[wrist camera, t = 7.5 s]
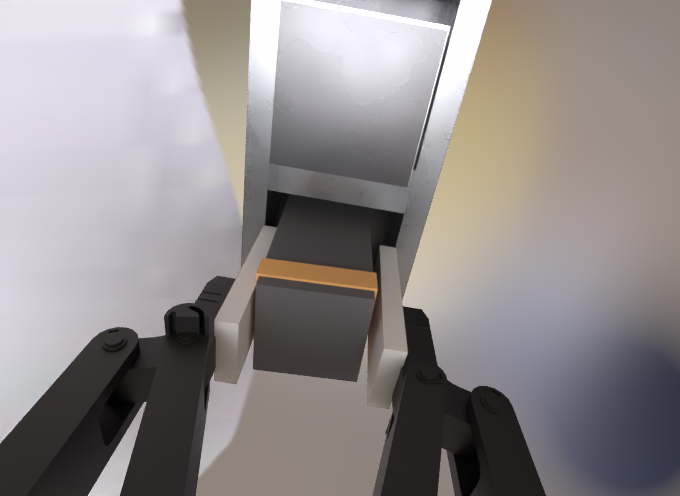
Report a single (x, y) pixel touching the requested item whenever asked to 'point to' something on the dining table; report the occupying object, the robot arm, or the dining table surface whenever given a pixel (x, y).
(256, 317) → the plug
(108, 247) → the dining table surface
